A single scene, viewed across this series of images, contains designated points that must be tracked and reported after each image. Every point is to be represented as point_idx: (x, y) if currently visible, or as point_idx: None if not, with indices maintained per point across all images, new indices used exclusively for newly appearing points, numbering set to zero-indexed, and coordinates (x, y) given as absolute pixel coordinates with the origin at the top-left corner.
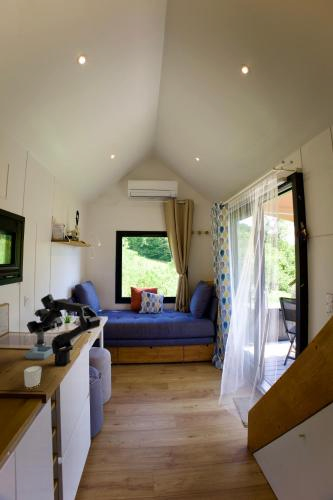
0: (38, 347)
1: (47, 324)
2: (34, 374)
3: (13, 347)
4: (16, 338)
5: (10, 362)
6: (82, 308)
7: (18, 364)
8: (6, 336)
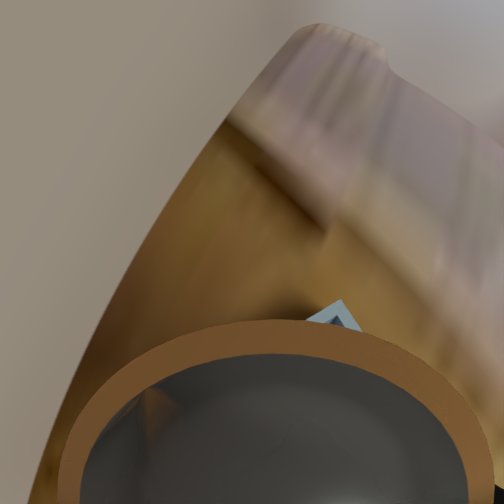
0: (335, 319)
1: None
2: None
3: (259, 132)
4: (325, 55)
5: (106, 368)
6: None
7: None
8: (303, 31)
